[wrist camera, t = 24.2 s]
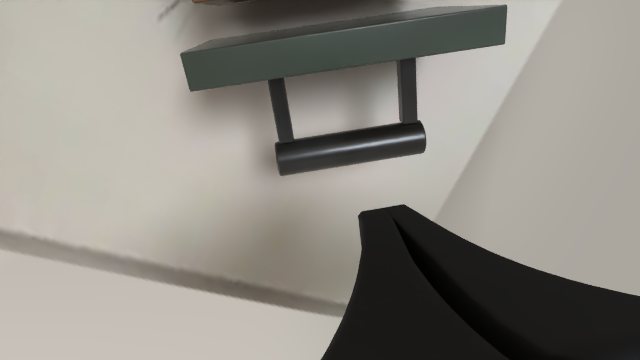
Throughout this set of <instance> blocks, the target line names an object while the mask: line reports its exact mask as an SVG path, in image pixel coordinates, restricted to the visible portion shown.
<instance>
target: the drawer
mask: <svg viewBox="0 0 640 360" xmlns="http://www.w3.org/2000/svg"><path fill="white" fill-rule="evenodd" d="M192 1H193V3H198V4H208V5H218V6H220V5H227V4H234V3H241V2H248V1H255V0H192ZM506 18H507V5H485V6H448V7H433V8H426V9H419V10H412V11H405V12H399V13H392V14H385V15H378V16H371V17H365V18H358V19H351V20H344V21H337V22H330V23H324V24H317V25H310V26H303V27H296V28H290V29H283V30H276V31H269V32H262V33H255V34H249V35H242V36H235V37H228V38H221V39H215V40H210V41H207V42H205V43H203V44H201V45H198V46H196V47H194V48H191V49H189V50H187V51H184V52H182V53H180V56H181V59H182V63H183V67H184V71H185V74H186V78H187V82H188V85H189V89H190V91H192V92H193V91H199V90H206V89H213V88H219V87H226V86H232V85H239V84H246V83H252V82H259V81H265V80H268V85H269V91H270V96H271V101H272V107H273V112H274V118H275V123H276V128H277V134H278V139H279V142H276V143H275V153H276V159H277V165H278V170H279V174H280V175H281V176H285V175H291V174H297V173H304V172H310V171H316V170H322V169H328V168H334V167H341V166H347V165H353V164H359V163H365V162H372V161H378V160H384V159H390V158H396V157H403V156H409V155H415V154H421V153H423V152H424V151H425V149H426V134H425V130H424V127H423V124H422V123H421V121H420V120H417V88H416V58H417V57H424V56H430V55H437V54H443V53H450V52H457V51H463V50H470V49H476V48H483V47H490V46H496V45H503V44H505V34H506ZM391 61H397V77H398V98H399V119H400V121H401V122H400V123H394V124H388V125H381V126H375V127H369V128H362V129H356V130H350V131H343V132H337V133H331V134H324V135H318V136H312V137H305V138H299V139H294V136H293V130H292V124H291V118H290V112H289V106H288V100H287V94H286V88H285V82H284V78H285V77H292V76H298V75H305V74H311V73H318V72H325V71H331V70H338V69H344V68H351V67H358V66H364V65H371V64H377V63H384V62H391Z"/></svg>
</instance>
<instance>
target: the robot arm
mask: <svg viewBox="0 0 640 360" xmlns="http://www.w3.org/2000/svg"><path fill="white" fill-rule="evenodd" d="M358 219H359V228H360V237H361V246H362V251H361V258H360V264H359V269H358V274H357V278H356V282H355V285H354V289H353V292H352V295H351V298H350V301H349V303H348V306H347V309H346V312H345V314H344V316H343V319H342V321H341V323H340V325H339V327H338V329H337V331H336V333H335V335H334V337H333V339H332V341H331V343H330V345H329V347H328V349H327V350H326V352H325V354H324V356H323V357H322V359H321V360H640V296H636V295H631V294H626V293H622V292H618V291H613V290H609V289H605V288H600V287H596V286H592V285H588V284H584V283H580V282H577V281H573V280H569V279H566V278H563V277H559V276H556V275H553V274H550V273H546V272H543V271H540V270H537V269H534V268H531V267H528V266H525V265H523V264H520V263H517V262H515V261H512V260H510V259H507V258H505V257H502V256H500V255H497V254H495V253H493V252H490V251H488V250H486V249H484V248H482V247H479V246H477V245H475V244H473V243H471V242H469V241H467V240H465V239H463V238H461V237H459V236H457V235H456V234H454V233H452V232H450V231H448V230H447V229H445V228H443V227H441V226H440V225H438V224H436V223H434V222H433V221H431V220H429V219H428V218H426V217H424V216H423V215H421V214H419V213H418V212H416V211H414V210H413V209H411V208H409V207H408V206H406V205H404V204H403V205H397V206H391V207H385V208H380V209H374V210H368V211H362V212H361V213H360V214H359V215H358Z"/></svg>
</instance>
